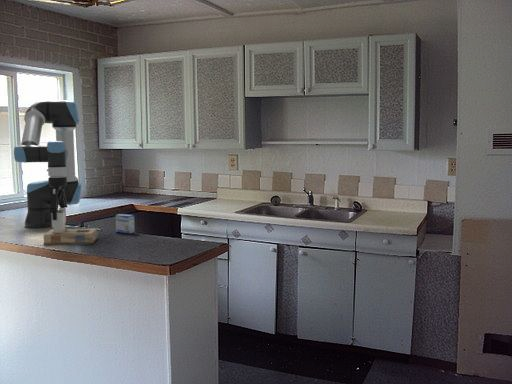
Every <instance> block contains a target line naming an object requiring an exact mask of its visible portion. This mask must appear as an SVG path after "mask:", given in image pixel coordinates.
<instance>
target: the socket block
mask: <svg viewBox="0 0 512 384" xmlns="http://www.w3.org/2000/svg"><path fill="white" fill-rule="evenodd" d="M97 239H98V228H97V227H96V228H93V227H92V228H65V233H54V228H51V229H50V230H48V231H47V232H46V233H44V234H43V246H61V245H62V246H63V245H65V246H67V245H92V244H94V243H95V241H96V240H97Z"/></svg>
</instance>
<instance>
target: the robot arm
mask: <svg viewBox="0 0 512 384" xmlns="http://www.w3.org/2000/svg"><path fill="white" fill-rule="evenodd" d="M23 117H24V119H23V120H24V122H25V123H24V124H25V125H24V128H23V133H22V138H21V144H20V145H15V146H14V149H13V159H14V161H15V162H16V163H25V164H26V163H47V169H46V171H47V173H48V175H47V176H48V180H47V179H46V180H41V181H40V180H38V181H33V182H30V183H28V184H27V186H26V199H27V200H26V202H27V214H26V216H25V220H24V227H25V228H29V229H30V228H31V229H35V228H36V229H38V228H39V229H41V228H49V227H51V229H54V228H56V227H59V214H58V210H63V212H65V223H67V212H66V211H67V209H66V208H68V205H69V206H71V205H78V204H79V203H80V201H81V195H82V194H81V193H82V182H80V180H79V178H78V177H77V176H76V164H75V163H76V162H75V161H76V160H75V157H76V156H75V136H74V131H75V130H76V128H77V124H80V118H79V112H78V105H77V103H76V102H75V101H74V100H67V99H65V100H64V99H63V100H59V99H58V100H56V99H55V100H53V99H52V100H50V99H48V100H47V99H43V100H39V101H36V102H35V103H33V104H32V105H30V106H29V108H28V109H27V110H26V111H25V112H24V116H23ZM45 124H51V127H52V128H53V129H54V130H55V141H47V143H46V145H41V144H40V142H41V136H42V135H41V134H42V129H43V126H44V125H45Z"/></svg>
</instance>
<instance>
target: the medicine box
mask: <svg viewBox="0 0 512 384" xmlns="http://www.w3.org/2000/svg"><path fill="white" fill-rule="evenodd" d="M116 232H123V233H122V234H129V233H130V234H133V233H135V214H125V213H124V214H123V213H121V214H120V213H119V214H118V213H117V214H116V215H115V233H116Z"/></svg>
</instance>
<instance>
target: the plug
mask: <svg viewBox="0 0 512 384" xmlns="http://www.w3.org/2000/svg"><path fill="white" fill-rule="evenodd" d="M58 214H59V227H56V228H53V229H54V233H65V229H66V222H65V212H63V210H59V209H58Z"/></svg>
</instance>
